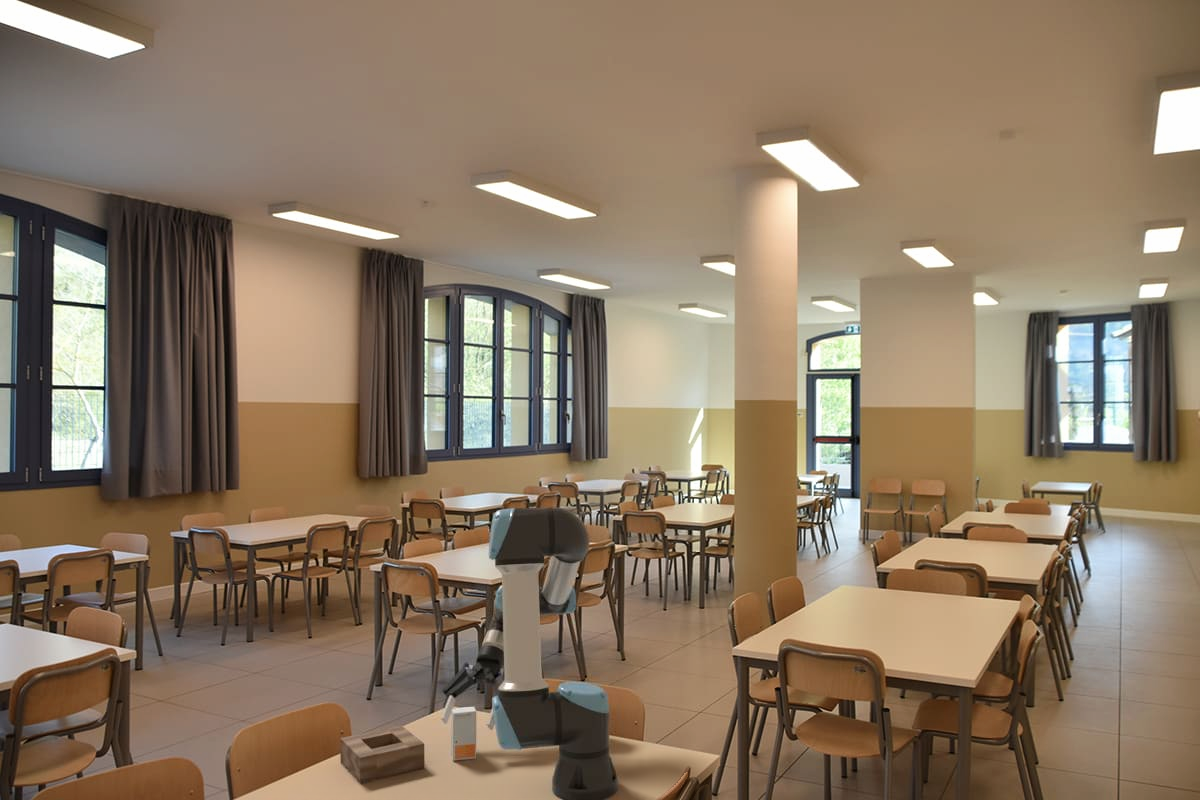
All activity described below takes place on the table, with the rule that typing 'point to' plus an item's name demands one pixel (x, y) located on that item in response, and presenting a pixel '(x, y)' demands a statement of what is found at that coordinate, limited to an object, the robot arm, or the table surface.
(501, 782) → the table surface
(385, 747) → the holder block
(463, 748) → the skincare box
